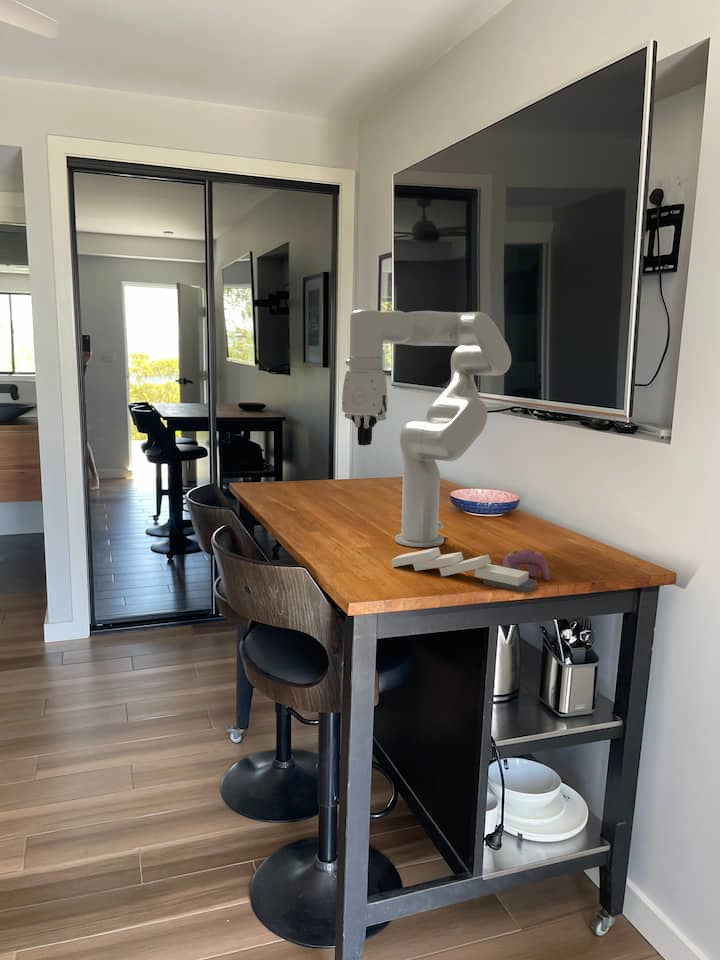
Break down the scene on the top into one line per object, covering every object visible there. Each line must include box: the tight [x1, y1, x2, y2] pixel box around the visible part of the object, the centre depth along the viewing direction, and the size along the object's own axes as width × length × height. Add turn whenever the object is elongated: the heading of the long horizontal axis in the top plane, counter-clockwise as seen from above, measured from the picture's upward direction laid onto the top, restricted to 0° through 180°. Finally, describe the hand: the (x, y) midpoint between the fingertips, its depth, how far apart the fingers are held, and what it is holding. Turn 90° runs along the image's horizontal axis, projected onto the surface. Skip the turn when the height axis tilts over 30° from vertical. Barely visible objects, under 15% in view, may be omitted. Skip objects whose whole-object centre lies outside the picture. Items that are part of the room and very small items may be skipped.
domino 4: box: [474, 563, 529, 586], centre depth 153 cm, size 2×5×10 cm
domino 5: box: [482, 578, 538, 594], centre depth 152 cm, size 2×5×10 cm
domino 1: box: [391, 546, 442, 568], centre depth 163 cm, size 2×5×10 cm
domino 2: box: [413, 551, 464, 572], centre depth 161 cm, size 2×5×10 cm
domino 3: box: [439, 554, 492, 577], centre depth 157 cm, size 2×5×10 cm
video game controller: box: [502, 549, 551, 581], centre depth 158 cm, size 10×5×7 cm, turn 92°
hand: (364, 444), depth 168 cm, fingers closed
